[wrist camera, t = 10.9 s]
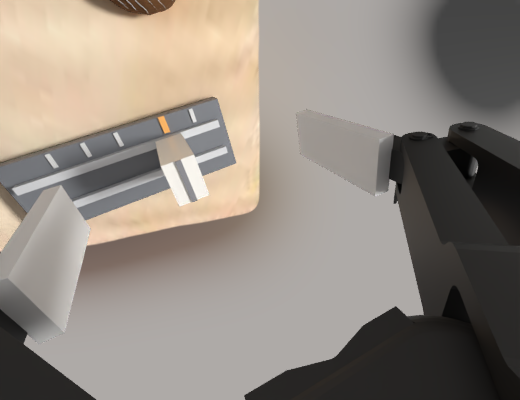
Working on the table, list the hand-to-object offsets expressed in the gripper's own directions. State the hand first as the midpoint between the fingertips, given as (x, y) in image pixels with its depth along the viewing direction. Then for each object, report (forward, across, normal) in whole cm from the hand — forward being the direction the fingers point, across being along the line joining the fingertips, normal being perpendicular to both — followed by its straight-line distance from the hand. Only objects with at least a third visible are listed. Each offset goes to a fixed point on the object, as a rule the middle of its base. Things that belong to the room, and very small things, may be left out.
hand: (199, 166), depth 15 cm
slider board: (+26, -6, -6) cm, 28 cm away
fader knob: (+23, -1, -6) cm, 24 cm away
